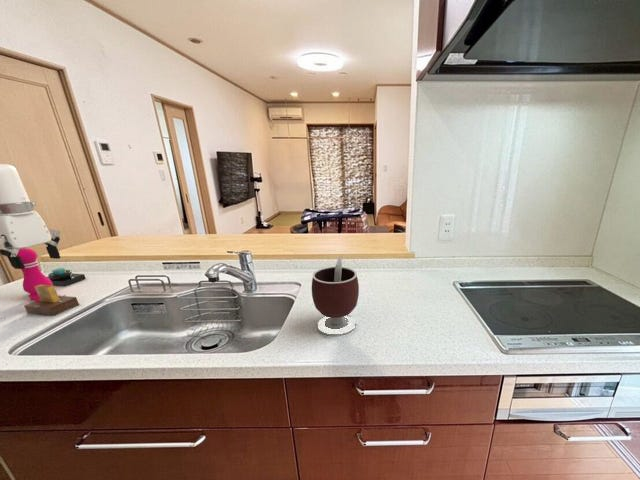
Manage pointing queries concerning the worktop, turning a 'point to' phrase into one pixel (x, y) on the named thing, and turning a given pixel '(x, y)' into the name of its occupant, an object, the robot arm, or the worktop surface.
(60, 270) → the bell button
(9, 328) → the worktop surface
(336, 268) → the mate gourd
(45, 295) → the lock turn
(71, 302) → the brown flat block
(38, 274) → the pepper mill
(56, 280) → the doorbell
